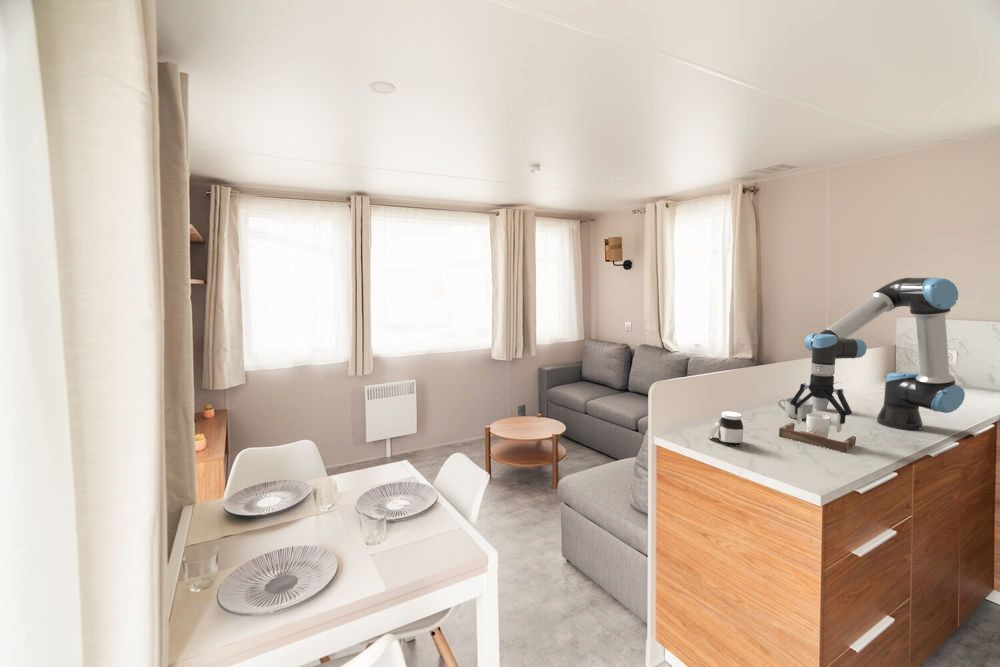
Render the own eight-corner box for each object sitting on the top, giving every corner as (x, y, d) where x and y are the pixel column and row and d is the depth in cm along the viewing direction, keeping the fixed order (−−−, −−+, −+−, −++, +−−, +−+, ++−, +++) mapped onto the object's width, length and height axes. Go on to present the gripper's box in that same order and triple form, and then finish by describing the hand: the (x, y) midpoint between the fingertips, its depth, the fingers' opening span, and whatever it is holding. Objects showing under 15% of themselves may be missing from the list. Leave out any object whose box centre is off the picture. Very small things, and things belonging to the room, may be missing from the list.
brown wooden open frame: (790, 430, 197) (791, 420, 197) (855, 445, 180) (856, 435, 179) (778, 436, 190) (779, 426, 189) (844, 452, 172) (845, 442, 172)
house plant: (842, 409, 229) (845, 376, 227) (839, 415, 218) (842, 381, 216) (807, 404, 238) (810, 372, 236) (803, 409, 228) (806, 376, 226)
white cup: (832, 444, 181) (834, 419, 179) (809, 443, 182) (811, 418, 181) (822, 437, 188) (824, 413, 187) (801, 436, 190) (803, 412, 189)
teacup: (816, 418, 214) (817, 401, 213) (805, 422, 208) (806, 405, 207) (783, 411, 225) (785, 395, 224) (772, 415, 219) (773, 398, 218)
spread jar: (744, 448, 177) (746, 418, 176) (713, 446, 179) (714, 416, 177) (734, 437, 189) (736, 409, 187) (704, 435, 191) (706, 408, 189)
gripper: (783, 370, 189) (780, 421, 192) (858, 381, 170) (853, 437, 173) (790, 368, 194) (787, 417, 197) (864, 378, 175) (860, 433, 177)
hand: (818, 427), depth 185 cm, fingers open, 13 cm apart
